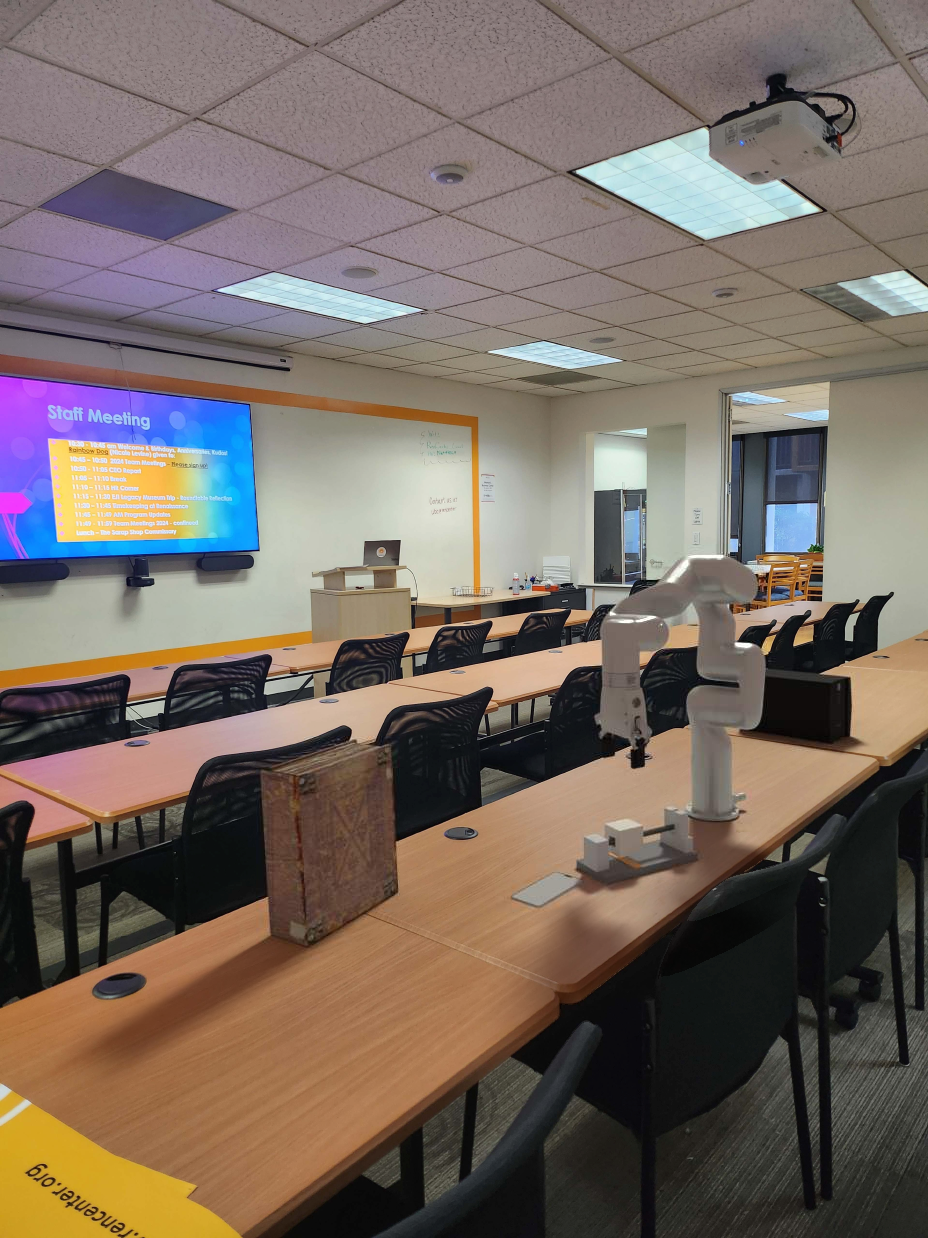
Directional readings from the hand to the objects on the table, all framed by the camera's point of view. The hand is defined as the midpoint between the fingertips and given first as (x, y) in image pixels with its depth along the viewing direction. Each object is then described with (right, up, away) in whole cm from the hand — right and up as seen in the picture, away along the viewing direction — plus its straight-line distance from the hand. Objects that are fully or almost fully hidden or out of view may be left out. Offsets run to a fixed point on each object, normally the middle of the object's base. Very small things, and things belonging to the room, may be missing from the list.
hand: (622, 762), depth 165 cm
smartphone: (-16, -24, -8) cm, 30 cm away
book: (-56, -26, -15) cm, 64 cm away
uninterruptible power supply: (+80, -10, +110) cm, 137 cm away
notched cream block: (+1, -19, +2) cm, 19 cm away
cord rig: (+4, -22, +3) cm, 22 cm away
